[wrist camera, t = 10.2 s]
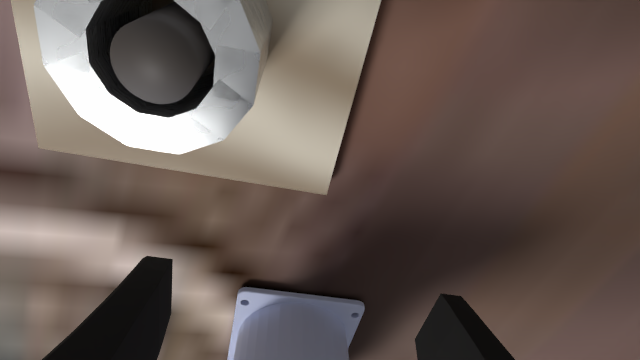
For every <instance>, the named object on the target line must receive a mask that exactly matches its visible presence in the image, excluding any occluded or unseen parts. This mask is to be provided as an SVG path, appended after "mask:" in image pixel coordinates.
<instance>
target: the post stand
mask: <svg viewBox="0 0 640 360" xmlns="http://www.w3.org/2000/svg"><path fill="white" fill-rule="evenodd" d="M35 1H36V0H11V4H12V10H13V15H14V20H15V26H16V31H17V36H18V41H19V47H20V52H21V57H22V63H23V68H24V73H25V79H26V84H27V89H28V95H29V100H30V105H31V111H32V116H33V121H34V127H35V132H36V137H37V142H38V148H41V149H47V150H53V151H59V152H65V153H72V154H78V155H84V156H90V157H96V158H102V159H108V160H115V161H121V162H127V163H133V164H139V165H145V166H151V167H158V168H164V169H170V170H176V171H182V172H188V173H195V174H201V175H207V176H213V177H219V178H225V179H231V180H238V181H244V182H250V183H256V184H262V185H268V186H275V187H281V188H287V189H293V190H299V191H305V192H311V193H318V194H324V195H327V191H328V188H329V184H330V181H331V177H332V173H333V170H334V166H335V163H336V159H337V156H338V152H339V149H340V145H341V141H342V138H343V134H344V131H345V127H346V124H347V120H348V117H349V113H350V109H351V106H352V102H353V99H354V95H355V92H356V88H357V85H358V81H359V77H360V74H361V70H362V67H363V63H364V60H365V56H366V53H367V49H368V45H369V42H370V38H371V35H372V31H373V28H374V24H375V21H376V17H377V13H378V10H379V6H380V3H381V0H266V2H267V5H268V7H269V10H270V13H271V16H272V19H273V22H272V29H271V36H270V43H269V51H268V58H267V61H266V65H265V68H264V72H263V75H262V78H261V82H260V85H259V88H258V92H257V95H256V99H255V102H254V105H253V107H252V108H251V109H250V110H249V111H248V112H247V114H246V115H245V116H244V117H243V118H242V119H241V121H240V122H239V123H238V124H237V125H236V126H235V128H234V129H233V130H232V131H231V132H230V134H229V135H228V136H227V137H226V138H225V139H224V140H223V141H220V142H217V143H214V144H211V145H207V146H204V147H201V148H198V149H195V150H192V151H188V152H185V153H182V154H173V153H167V152H161V151H155V150H149V149H142V148H136V147H130V146H127V145H125V144H124V143H122V142H121V141H119V140H117V139H116V138H114V137H113V136H111V135H109V134H108V133H106V132H105V131H103V130H101V129H100V128H98V127H97V126H95V125H93V124H92V123H90V122H89V121H87V120H86V119H84V118H82V117H81V116H80V115H78V113H77V112H76V110H75V109H74V108H73V106H72V105H71V103H70V102H69V101H68V99H67V98H66V97H65V95H64V94H63V92H62V91H61V90H60V88H59V87H58V85H57V84H56V83H55V81H54V80H53V78H52V77H51V76H50V74H49V73H48V71H47V70H46V69H45V67H44V66H45V65H43V60H42V54H41V48H40V42H39V36H38V30H37V24H36V18H35V12H34V6H35V5H34V3H35ZM110 60H111V64H112V68H113V70H114V72H115V74H116V76H117V78H118V79H119V81H120V82H121V83H122V85H123V86H124V87H125V88H126V89H127V90H128V91H130V92H131V93H132V94H133V95H135V96H137V97H138V98H140V99H142V100H145V101H147V102H151V103H155V104H170V103H174V102H177V101H179V100H181V99H182V98H184V97H185V96H186V95H187V94H188V93H189V92H190V91H191V89H192V88H193V87H194V85H195V84H196V83H197V81H198V80H199V79H200V77H201V76H202V75H203V73H204V72H205V71H206V69H207V68H208V67H211V66H214V65H215V54H214V51H213V49H212V47H211V45H210V43H209V41H208V38H207V36H206V34H205V32H204V30H203V28H202V25H201V23H200V22H199V21H198V20H197V19H195V18H194V17H193V16H192V15H191V14H189V13H188V12H187V11H186V10H185V9H183V8H182V7H181V6H180V5H179V4H177V3H176V2H175V1H174V0H153V1H152V12H151V13H149V14H147V15H145V16H143V17H141V18H139V19H136V20H134V21H132V22H130V23H128V24H126V25H124V26H123V27H121V28H120V29H119V30H118V31H117V33H116V34H115V36H114V38H113V40H112V42H111V47H110Z"/></svg>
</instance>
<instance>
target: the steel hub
mask: <svg viewBox="0 0 640 360" xmlns="http://www.w3.org/2000/svg"><path fill="white" fill-rule="evenodd" d="M152 1H153V0H36V1H35V3H34V5H35V6H34V12H35V18H36V24H37V30H38V36H39V42H40V48H41V54H42V60H43V65H45V66H44V67H45V69H46V70H47V71H48V73H49V74H50V76H51V77H52V78H53V80H54V81H55V83H56V84H57V85H58V87H59V88H60V90H61V91H62V92H63V94H64V95H65V97H66V98H67V99H68V101H69V102H70V103H71V105H72V106H73V108H74V109H75V110H76V112H77V113H78V115H80V116H81V117H82V118H84V119H86V120H87V121H89V122H90V123H92V124H93V125H95V126H97V127H98V128H100V129H101V130H103V131H105V132H106V133H108V134H109V135H111V136H113V137H114V138H116V139H117V140H119V141H121V142H122V143H124V144H125V145H127V146H130V147H136V148H142V149H149V150H155V151H161V152H167V153H173V154H182V153H185V152H188V151H192V150H195V149H198V148H201V147H204V146H207V145H211V144H214V143H217V142H220V141H223V140H224V139H225V138H226V137H227V136H228V135H229V134H230V132H231V131H232V130H233V129H234V128H235V126H236V125H237V124H238V123H239V122H240V121H241V119H242V118H243V117H244V116H245V115H246V114H247V112H248V111H249V110H250V109H251V108H252V107H253V105H254V102H255V99H256V95H257V92H258V88H259V85H260V82H261V78H262V75H263V72H264V68H265V65H266V61H267V58H268V51H269V43H270V36H271V29H272V22H273V19H272V16H271V13H270V10H269V7H268V5H267V2H266V0H174V1H175V2H176V3H177V4H179V5H180V6H181V7H182V8H183V9H185V10H186V11H187V12H188V13H189V14H191V15H192V16H193V17H194V18H195V19H197V20H198V21H199V22H200V23H201V25H202V28H203V30H204V32H205V34H206V36H207V38H208V41H209V43H210V45H211V47H212V49H213V51H214V54H215V65H214V66H211V67H208V68H207V69H206V71H205V72H204V73H203V75H202V76H201V77H200V79H199V80H198V81H197V83H196V84H195V85H194V87H193V88H192V89H191V91H190V92H189V93H188V94H187V95H186V96H185V97H184V98H182V99H181V100H179V101H177V102H174V103H170V104H155V103H151V102H147V101H145V100H142V99H140V98H138V97H137V96H135V95H133V94H132V93H131V92H130V91H128V90H127V89H126V88H125V87H124V86H123V85H122V83H121V82H120V81H119V79H118V78H117V76H116V74H115V72H114V70H113V68H112V64H111V60H110V47H111V42H112V40H113V38H114V36H115V34H116V33H117V31H118V30H119V29H120V28H121V27H123V26H124V25H126V24H128V23H130V22H132V21H134V20H136V19H139V18H141V17H143V16H145V15H147V14H149V13H151V12H152Z"/></svg>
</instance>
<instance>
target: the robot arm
mask: <svg viewBox="0 0 640 360" xmlns="http://www.w3.org/2000/svg"><path fill="white" fill-rule="evenodd" d="M171 297H172V259H166V258H158V257H151V256H146V257H145V258H143V259H142V260H141V261H140V262H139V263H138V264H137V266H136V267H135V268H134V269H133V270H132V271H131V272H130V274H129V275H128V276H127V277H126V278H125V279H124V280H123V281H122V282H121V283H120V285H119V286H118V287H117V288H116V289H115V290H114V291H113V292H112V293H111V294H110V295H109V296H108V297H107V298H106V299H105V300H104V301H103V302H102V303H101V304H100V305H99V306H98V307H97V308H96V309H95V310H94V311H93V312H92V313H91V314H90V315H89V316H88V317H87V318H86V319H85V320H84V321H83V322H82V323H81V324H80V325H79V326H78V327H77V328H76V329H75V330H74V331H73V332H72V333H71V334H70V335H69V336H68V337H66V338H65V339H64V340H63V341H62V342H61V343H60V344H59V345H58V346H57V347H55V348H54V349H53V350H52V351H51V352H50V353H49V354H48V355H47V356H45V357H44V358H43V359H42V360H157V358H158V355H159V352H160V349H161V346H162V342H163V339H164V336H165V332H166V329H167V325H168V322H169V319H170V315H171ZM364 311H365V307H364V303H363V302H362V301H358V300H350V299H342V298H334V297H326V296H317V295H309V294H301V293H292V292H284V291H276V290H268V289H259V288H251V287H243V288H241V289H239V291H238V295H237V302H236V308H235V314H234V321H233V327H232V333H231V340H230V346H229V352H228V359H227V360H349V355H348V348H349V346H350V343H351V341H352V339H353V336H354V334H355V332H356V329H357V327H358V325H359V322H360V320H361V318H362V315H363V313H364ZM415 343H416V350H417V358H418V360H515V359H514V358H513V357H512V356H511V354H510V353H509V352H508V351H507V350H506V349H505V347H504V346H503V345H502V344H501V343H500V341H499V340H498V339H497V338H496V337H495V335H494V334H493V333H492V332H491V331H490V329H489V328H488V327H487V326H486V325H485V323H484V322H483V321H482V320H481V319H480V318H479V316H478V315H477V314H476V313H475V312H474V310H473V309H472V308H471V307H470V306H469V305H468V303H467V302H466V301H465V300H464V299H463V298H462V297H461V296H455V295H447V294H440V296H439V298H438V299H437V301H436V303H435V305H434V307H433V308H432V310H431V312H430V314H429V315H428V317H427V319H426V321H425V322H424V324H423V326H422V328H421V329H420V331H419V333H418V335H417V336H416V338H415Z"/></svg>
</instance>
